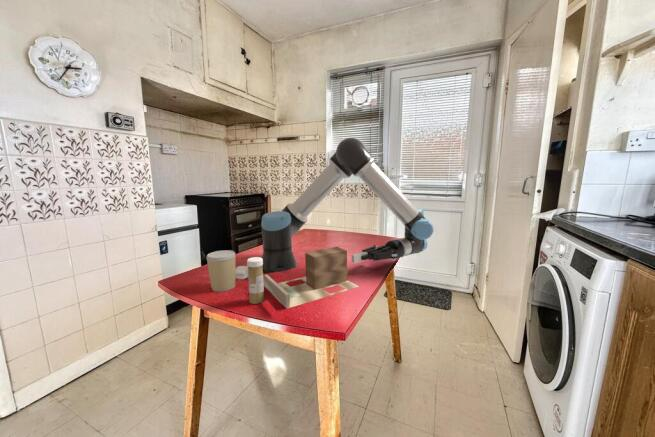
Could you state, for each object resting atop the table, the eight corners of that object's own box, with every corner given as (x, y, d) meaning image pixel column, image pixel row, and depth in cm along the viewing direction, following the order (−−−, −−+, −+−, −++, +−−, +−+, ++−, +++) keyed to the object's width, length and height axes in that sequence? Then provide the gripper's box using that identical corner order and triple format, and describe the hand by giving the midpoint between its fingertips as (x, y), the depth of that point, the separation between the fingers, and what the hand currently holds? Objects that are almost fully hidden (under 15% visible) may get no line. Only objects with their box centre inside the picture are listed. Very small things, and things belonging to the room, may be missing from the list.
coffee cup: (243, 283, 93) (241, 251, 91) (225, 294, 84) (222, 259, 82) (222, 280, 96) (220, 249, 94) (202, 290, 87) (199, 256, 85)
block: (337, 275, 95) (336, 246, 93) (347, 280, 90) (347, 250, 88) (306, 283, 88) (305, 252, 86) (314, 290, 83) (314, 257, 81)
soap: (237, 271, 106) (237, 264, 106) (253, 271, 106) (253, 264, 105) (228, 279, 97) (227, 272, 97) (245, 280, 97) (245, 272, 96)
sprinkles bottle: (246, 301, 79) (243, 259, 77) (259, 296, 82) (256, 255, 80) (255, 306, 76) (252, 262, 74) (267, 300, 79) (265, 258, 77)
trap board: (329, 274, 100) (329, 260, 99) (359, 290, 85) (359, 274, 84) (264, 290, 86) (263, 275, 85) (286, 313, 71) (286, 295, 71)
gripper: (410, 261, 102) (364, 273, 89) (386, 253, 112) (342, 263, 100) (410, 242, 100) (364, 252, 88) (386, 236, 111) (342, 245, 99)
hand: (352, 258), depth 94 cm, fingers closed
